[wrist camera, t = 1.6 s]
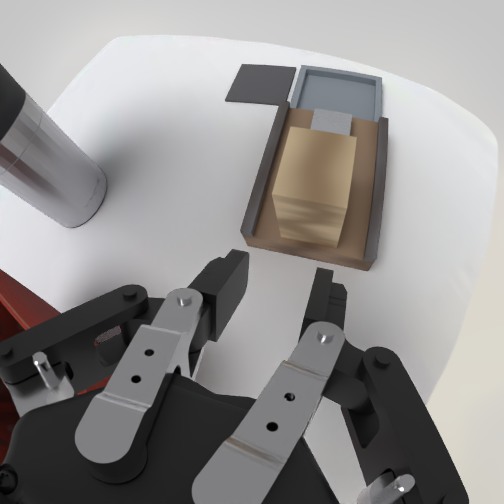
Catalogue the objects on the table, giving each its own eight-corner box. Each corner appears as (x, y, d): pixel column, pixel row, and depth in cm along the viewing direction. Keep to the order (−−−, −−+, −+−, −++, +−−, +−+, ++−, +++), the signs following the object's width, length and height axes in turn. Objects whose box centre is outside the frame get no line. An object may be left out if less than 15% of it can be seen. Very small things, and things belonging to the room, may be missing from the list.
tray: (287, 122, 36) (286, 114, 34) (302, 72, 39) (301, 65, 37) (378, 138, 33) (380, 130, 32) (380, 85, 36) (381, 77, 35)
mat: (225, 101, 39) (225, 99, 38) (242, 65, 41) (242, 64, 41) (284, 106, 37) (284, 104, 37) (296, 68, 39) (295, 67, 39)
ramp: (247, 245, 32) (240, 230, 28) (283, 123, 36) (280, 100, 32) (367, 271, 29) (376, 258, 25) (382, 140, 33) (388, 118, 29)
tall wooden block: (281, 237, 28) (271, 194, 21) (295, 180, 30) (290, 126, 22) (336, 248, 27) (347, 208, 20) (346, 189, 29) (356, 137, 21)
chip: (308, 144, 31) (308, 135, 30) (314, 117, 32) (314, 108, 31) (347, 151, 30) (348, 142, 29) (351, 123, 31) (352, 114, 30)
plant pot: (198, 375, 28) (89, 388, 13) (129, 505, 24) (31, 562, 9) (71, 287, 34) (-38, 241, 18) (23, 408, 30) (-77, 406, 14)
